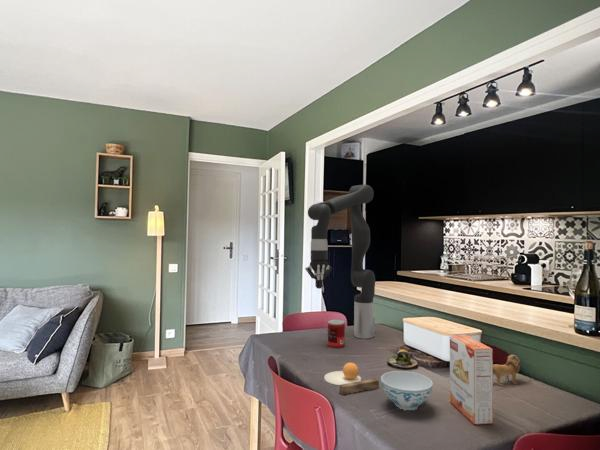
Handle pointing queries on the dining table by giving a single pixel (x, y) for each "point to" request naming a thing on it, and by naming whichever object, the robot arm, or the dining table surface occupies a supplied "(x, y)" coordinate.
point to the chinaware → (406, 388)
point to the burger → (402, 360)
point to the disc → (339, 378)
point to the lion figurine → (507, 369)
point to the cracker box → (471, 378)
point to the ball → (350, 370)
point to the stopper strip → (358, 386)
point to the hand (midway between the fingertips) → (318, 288)
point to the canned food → (336, 333)
